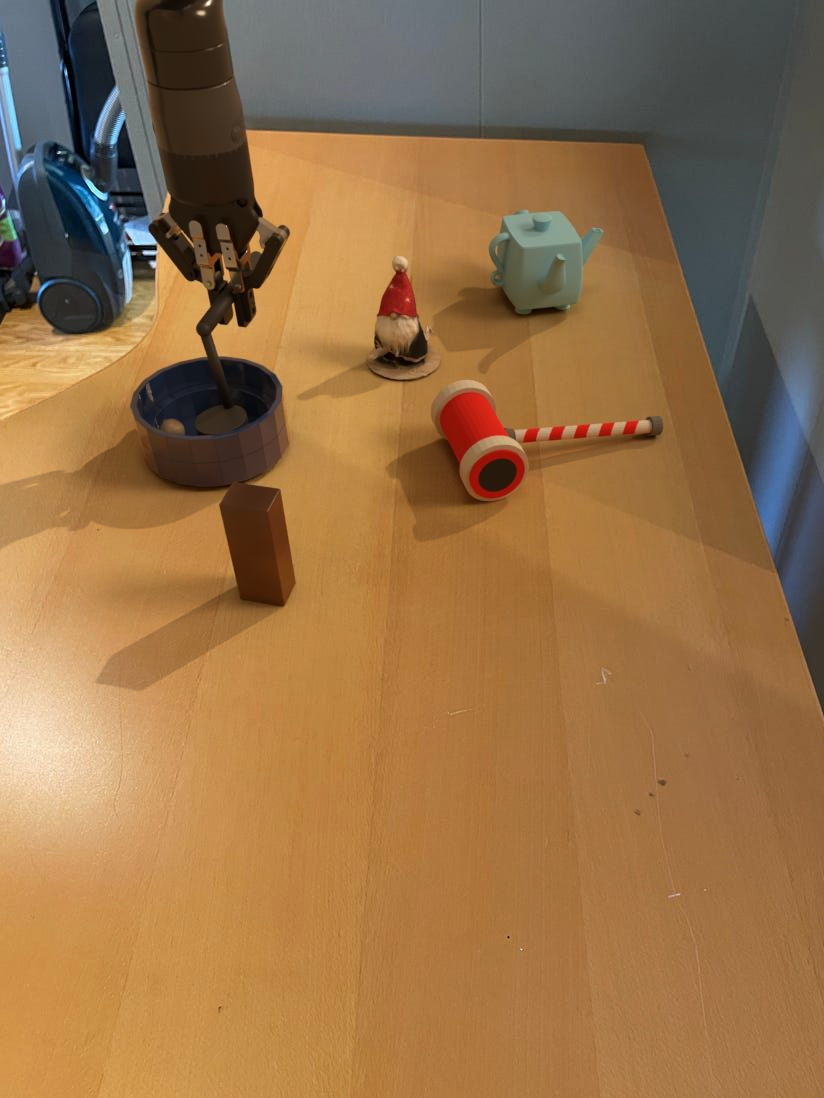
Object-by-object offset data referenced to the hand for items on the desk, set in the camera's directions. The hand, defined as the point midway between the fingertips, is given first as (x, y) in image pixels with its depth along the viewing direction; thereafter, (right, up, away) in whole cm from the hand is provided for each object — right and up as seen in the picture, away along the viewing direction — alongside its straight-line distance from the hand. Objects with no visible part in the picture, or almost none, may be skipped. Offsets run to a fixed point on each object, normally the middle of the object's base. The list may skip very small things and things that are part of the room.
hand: (235, 321), depth 95 cm
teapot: (+32, +11, +25) cm, 42 cm away
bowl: (-2, -12, +2) cm, 12 cm away
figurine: (+15, 0, +14) cm, 21 cm away
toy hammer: (+29, -13, +3) cm, 32 cm away
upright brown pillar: (+6, -27, -12) cm, 30 cm away
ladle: (+1, -7, +5) cm, 8 cm away
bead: (-7, -11, +1) cm, 12 cm away
